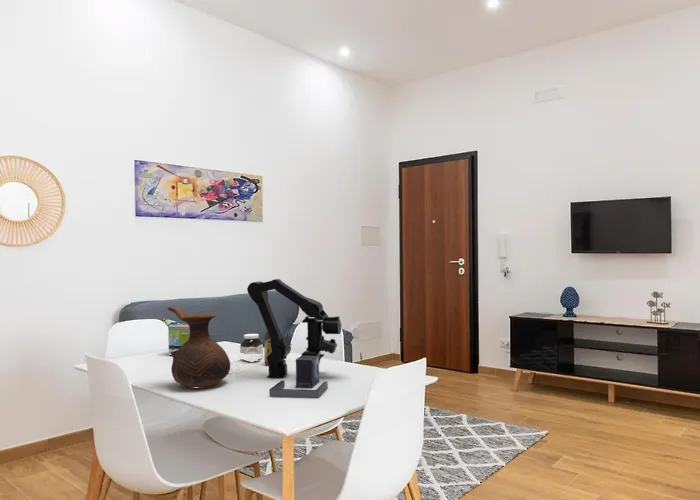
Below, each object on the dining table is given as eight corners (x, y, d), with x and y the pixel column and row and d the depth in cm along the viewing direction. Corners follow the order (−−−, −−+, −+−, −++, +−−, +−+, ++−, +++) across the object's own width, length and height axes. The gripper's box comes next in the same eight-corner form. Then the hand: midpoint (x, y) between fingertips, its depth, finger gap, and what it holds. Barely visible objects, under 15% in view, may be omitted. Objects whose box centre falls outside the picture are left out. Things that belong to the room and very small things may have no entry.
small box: (312, 388, 199) (312, 359, 199) (295, 388, 200) (294, 359, 200) (320, 381, 209) (319, 354, 209) (303, 381, 210) (303, 353, 210)
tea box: (168, 356, 269) (167, 326, 269) (177, 352, 279) (177, 323, 279) (197, 356, 266) (196, 326, 266) (205, 352, 276) (205, 323, 276)
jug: (211, 375, 224) (210, 302, 224) (241, 383, 208) (239, 304, 208) (160, 385, 209) (158, 306, 209) (188, 395, 193) (186, 310, 193)
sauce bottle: (267, 366, 239) (266, 321, 239) (262, 364, 244) (261, 319, 244) (281, 364, 242) (280, 319, 242) (276, 362, 247) (275, 318, 247)
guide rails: (269, 396, 188) (269, 389, 188) (281, 387, 201) (281, 380, 201) (318, 398, 185) (318, 390, 185) (327, 388, 198) (327, 381, 198)
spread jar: (254, 357, 261) (254, 332, 261) (270, 359, 254) (270, 334, 254) (234, 361, 252) (234, 336, 252) (250, 364, 245) (250, 338, 245)
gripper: (329, 337, 205) (330, 379, 205) (339, 330, 223) (340, 368, 223) (300, 337, 207) (301, 378, 207) (313, 330, 226) (314, 368, 226)
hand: (315, 373), depth 216 cm, fingers closed
